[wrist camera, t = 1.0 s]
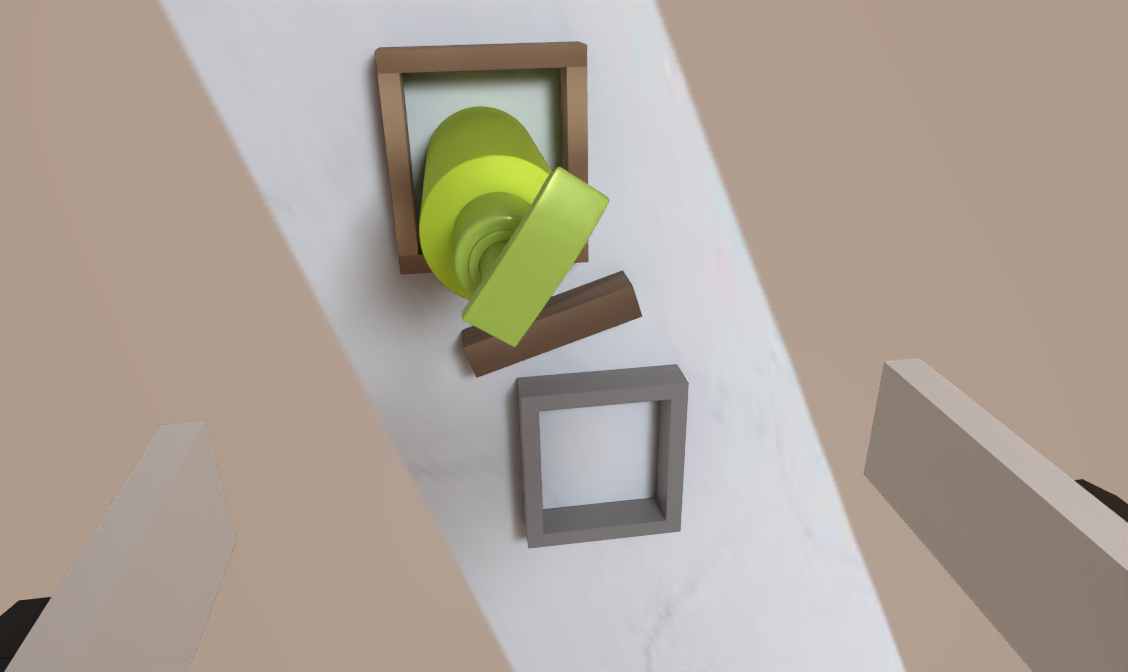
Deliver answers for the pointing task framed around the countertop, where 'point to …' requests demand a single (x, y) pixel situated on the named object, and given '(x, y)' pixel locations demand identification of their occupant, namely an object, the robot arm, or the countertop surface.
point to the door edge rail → (557, 323)
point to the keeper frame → (611, 516)
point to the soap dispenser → (500, 219)
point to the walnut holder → (466, 59)
